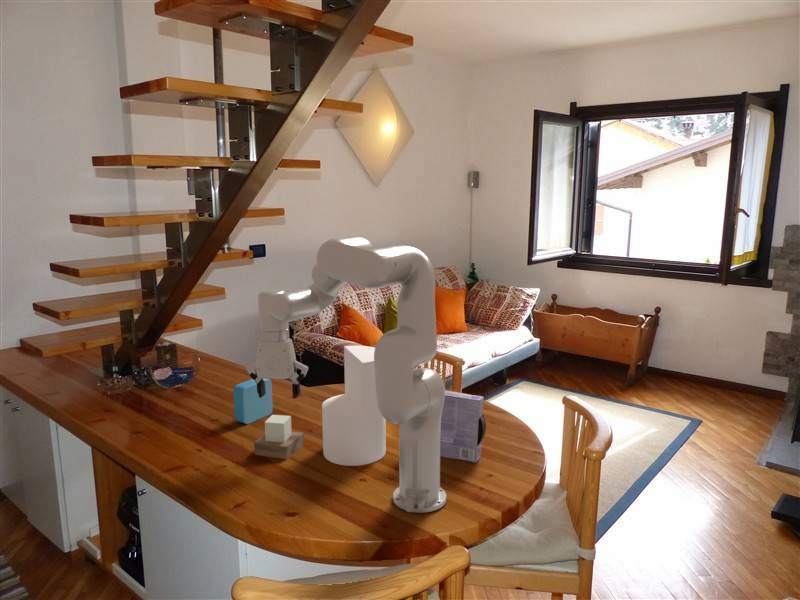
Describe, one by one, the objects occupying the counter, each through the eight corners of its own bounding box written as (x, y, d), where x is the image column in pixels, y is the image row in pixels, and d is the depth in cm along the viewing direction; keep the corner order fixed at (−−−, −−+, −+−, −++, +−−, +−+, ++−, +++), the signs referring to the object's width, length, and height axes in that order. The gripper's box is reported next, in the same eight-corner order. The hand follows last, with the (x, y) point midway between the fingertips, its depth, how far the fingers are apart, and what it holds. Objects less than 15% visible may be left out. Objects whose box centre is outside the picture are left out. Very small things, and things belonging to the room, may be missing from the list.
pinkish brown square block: (287, 460, 164) (286, 447, 163) (254, 455, 167) (254, 442, 166) (304, 445, 173) (303, 432, 172) (273, 441, 176) (272, 428, 175)
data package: (263, 410, 198) (261, 375, 196) (273, 413, 196) (271, 378, 194) (234, 422, 189) (232, 385, 186) (244, 425, 186) (242, 388, 184)
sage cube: (284, 442, 166) (283, 423, 164) (265, 441, 166) (264, 422, 165) (291, 434, 171) (290, 415, 170) (273, 433, 172) (272, 414, 171)
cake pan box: (485, 456, 165) (487, 394, 161) (480, 464, 160) (482, 400, 157) (419, 445, 172) (419, 385, 169) (413, 452, 167) (413, 391, 164)
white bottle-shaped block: (374, 434, 179) (373, 343, 174) (394, 459, 163) (394, 359, 158) (316, 443, 173) (313, 349, 168) (332, 470, 157) (329, 366, 152)
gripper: (238, 338, 161) (243, 400, 164) (301, 339, 158) (305, 401, 161) (250, 332, 168) (254, 391, 171) (310, 332, 165) (313, 392, 168)
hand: (279, 396), depth 166 cm, fingers open, 9 cm apart
